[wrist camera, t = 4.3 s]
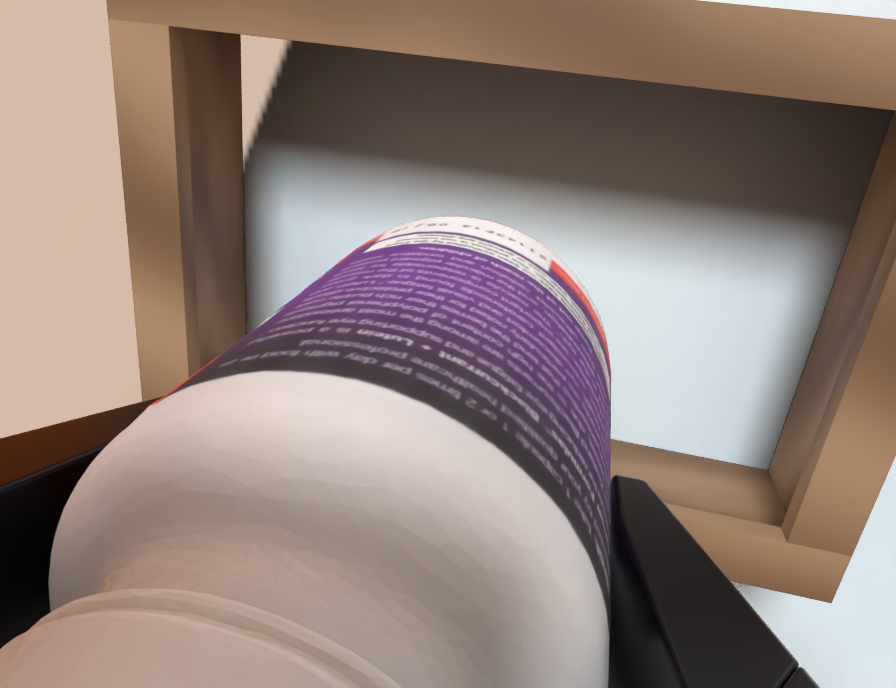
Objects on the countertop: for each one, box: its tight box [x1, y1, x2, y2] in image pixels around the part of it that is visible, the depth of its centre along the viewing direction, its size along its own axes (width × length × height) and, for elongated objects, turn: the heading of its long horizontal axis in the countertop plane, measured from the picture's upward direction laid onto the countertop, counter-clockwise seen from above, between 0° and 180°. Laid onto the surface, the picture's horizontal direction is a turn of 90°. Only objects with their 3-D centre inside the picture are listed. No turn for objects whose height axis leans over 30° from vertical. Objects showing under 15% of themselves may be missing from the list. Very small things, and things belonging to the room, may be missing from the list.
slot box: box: [107, 0, 896, 603], centre depth 18 cm, size 13×19×5 cm
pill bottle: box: [0, 216, 611, 688], centre depth 8 cm, size 5×5×10 cm
